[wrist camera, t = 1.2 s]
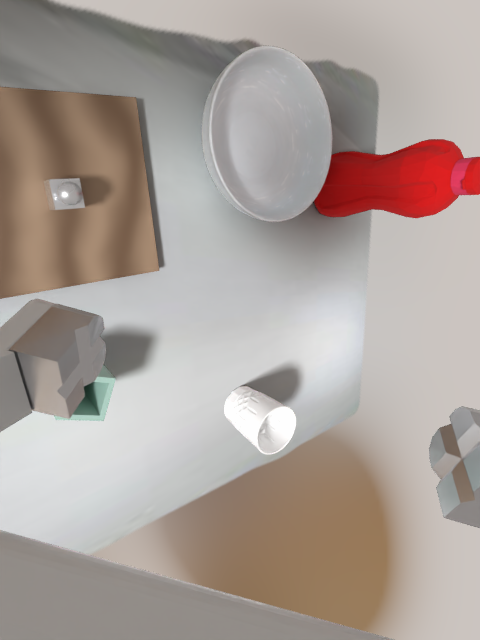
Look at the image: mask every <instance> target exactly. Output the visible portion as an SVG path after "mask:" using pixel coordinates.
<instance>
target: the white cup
mask: <svg viewBox="0 0 480 640" xmlns="http://www.w3.org/2000/svg"><path fill="white" fill-rule="evenodd" d="M224 412H225V416H226V417H227V419H228V420H229V421H230V422H231V423H232V424H233V425H234V426H235V427H236V429H238V430H239V431H240V432H241V434H242V435H244V436H245V437H246V438H247V439H248V440H249V441H250V442H251V443H252V444H253V445H254V446H255V447H256V448H258V449H259V450H260V451H261V452H262V453H264V454H274V453H277V452H279V451H280V450H282V449H283V448H284V447H285V446H286V445H287V444H288V442H289V441H290V439H291V438H292V436H293V434H294V431H295V427H296V416H295V413H294V411H293V410H292V409H291V408H289V407H287V406H285V405H284V404H282V403H280V402H278V401H276V400H274V399H273V398H271V397H269V396H267V395H265V394H263V393H261V392H259V391H256V390H254V389H252V388H250V387H248V386H242V387H238V388H237V389H235V390H234V391H232V392H231V394H230V395H229V396H228V398H227V399H226V402H225V406H224Z"/></svg>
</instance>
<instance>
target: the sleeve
mask: <svg viewBox="0 0 480 640" xmlns="http://www.w3.org/2000/svg"><path fill="white" fill-rule="evenodd" d="M115 379H116V378H115V377H114V376H113V375H112V374H111V372H110V371H109V370H108V369H107V368H106V367H105V365H104V364H103V367H102V369H101V372H100V374H99V375H98V377H97V378H96V380H95V381H94V382H92V383H90V384H88V385H86V386H84V393H85V397H84V398H83V400H82V401H81V403H80V404H79V405H78V407H77V408H76V410H75V411H74V413H73V414H72V416H71V417H70V419H67V418H63V417H59V416H54V417H55V419H56V420H89V421H104V418H105V415H106V411H107V408H108V404H109V401H110V397H111V393H112V390H113V386H114V383H115Z"/></svg>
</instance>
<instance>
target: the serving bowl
mask: <svg viewBox="0 0 480 640" xmlns="http://www.w3.org/2000/svg"><path fill="white" fill-rule="evenodd" d="M201 138H202V148H203V154H204V158H205V162H206V165H207V168H208V171H209V173H210V176H211V178H212V180H213V182H214V183H215V185H216V187H217V188H218V190H219V191H220V193H221V194H222V195H223V197H224V198H225V199H226V200H227V201H228V202H229V203H230V204H231V205H232V206H234V207H235V208H236V209H238V210H239V211H241V212H242V213H244V214H246V215H248V216H250V217H253V218H256V219H259V220H263V221H268V222H281V221H286V220H289V219H292V218H294V217H296V216H298V215H299V214H301V213H302V212H304V211H305V210H306V209H307V208H308V207H309V206H310V205H311V204H312V203H313V201H314V200H315V199H316V197H317V196H318V194H319V192H320V191H321V189H322V187H323V184H324V182H325V179H326V177H327V174H328V170H329V166H330V161H331V153H332V126H331V118H330V113H329V108H328V105H327V101H326V98H325V96H324V93H323V91H322V88H321V86H320V84H319V82H318V81H317V79H316V77H315V76H314V74H313V73H312V71H311V70H310V69H309V68H308V66H307V65H306V64H305V63H304V62H303V61H302V60H301V59H300V58H299V57H297V56H296V55H294V54H293V53H291V52H289V51H287V50H285V49H282V48H279V47H275V46H259V47H255V48H252V49H249V50H247V51H245V52H243V53H241V54H240V55H239V56H237V57H236V58H235V59H234V60H233V61H232V62H231V63H230V64H229V65H227V66H226V68H225V69H224V70H223V71H222V72H221V74H220V75H219V76H218V78H217V79H216V81H215V83H214V84H213V86H212V88H211V90H210V92H209V95H208V97H207V100H206V103H205V107H204V112H203V117H202V128H201Z"/></svg>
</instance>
